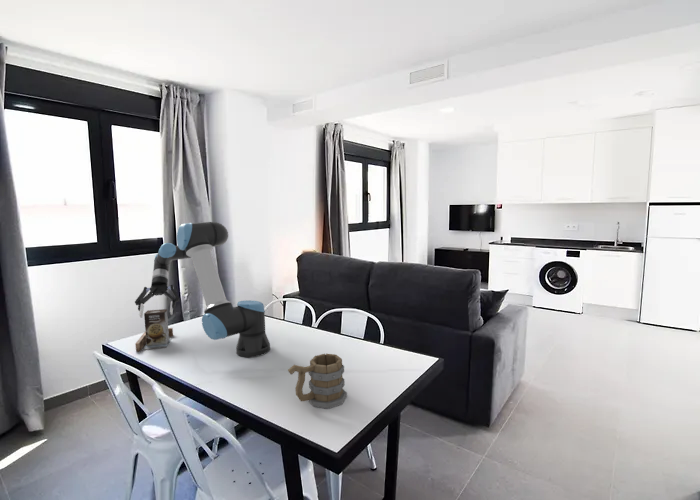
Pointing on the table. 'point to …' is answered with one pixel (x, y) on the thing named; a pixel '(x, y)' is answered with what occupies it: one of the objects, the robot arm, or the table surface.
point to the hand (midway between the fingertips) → (156, 315)
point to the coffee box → (156, 327)
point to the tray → (142, 342)
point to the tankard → (322, 381)
